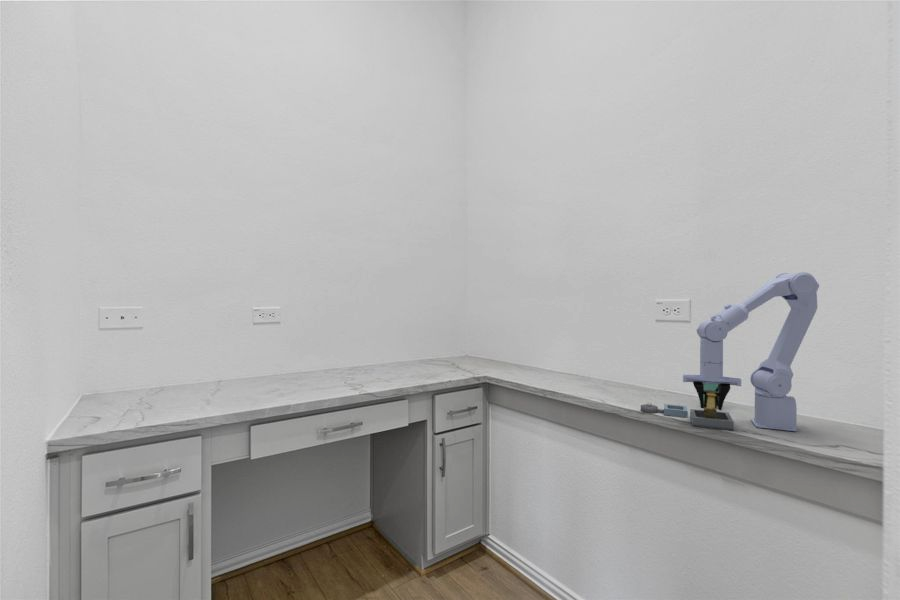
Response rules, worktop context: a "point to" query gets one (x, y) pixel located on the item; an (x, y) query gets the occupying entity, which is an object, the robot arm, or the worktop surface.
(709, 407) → the pin
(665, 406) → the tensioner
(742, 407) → the worktop surface
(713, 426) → the tray
